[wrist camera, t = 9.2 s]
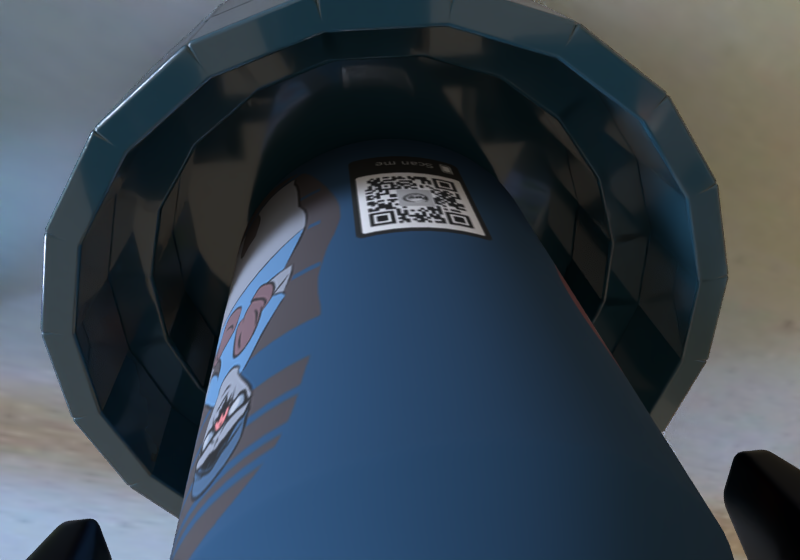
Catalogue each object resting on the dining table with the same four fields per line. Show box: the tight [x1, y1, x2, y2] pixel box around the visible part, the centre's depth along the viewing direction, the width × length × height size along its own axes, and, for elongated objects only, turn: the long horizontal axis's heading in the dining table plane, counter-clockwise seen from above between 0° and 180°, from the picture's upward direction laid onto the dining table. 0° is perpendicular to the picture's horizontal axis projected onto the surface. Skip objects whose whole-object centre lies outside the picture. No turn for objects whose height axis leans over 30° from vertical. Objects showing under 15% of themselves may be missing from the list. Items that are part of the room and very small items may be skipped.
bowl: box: [41, 0, 728, 519], centre depth 15 cm, size 13×13×5 cm
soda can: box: [170, 139, 734, 560], centre depth 12 cm, size 7×7×12 cm
